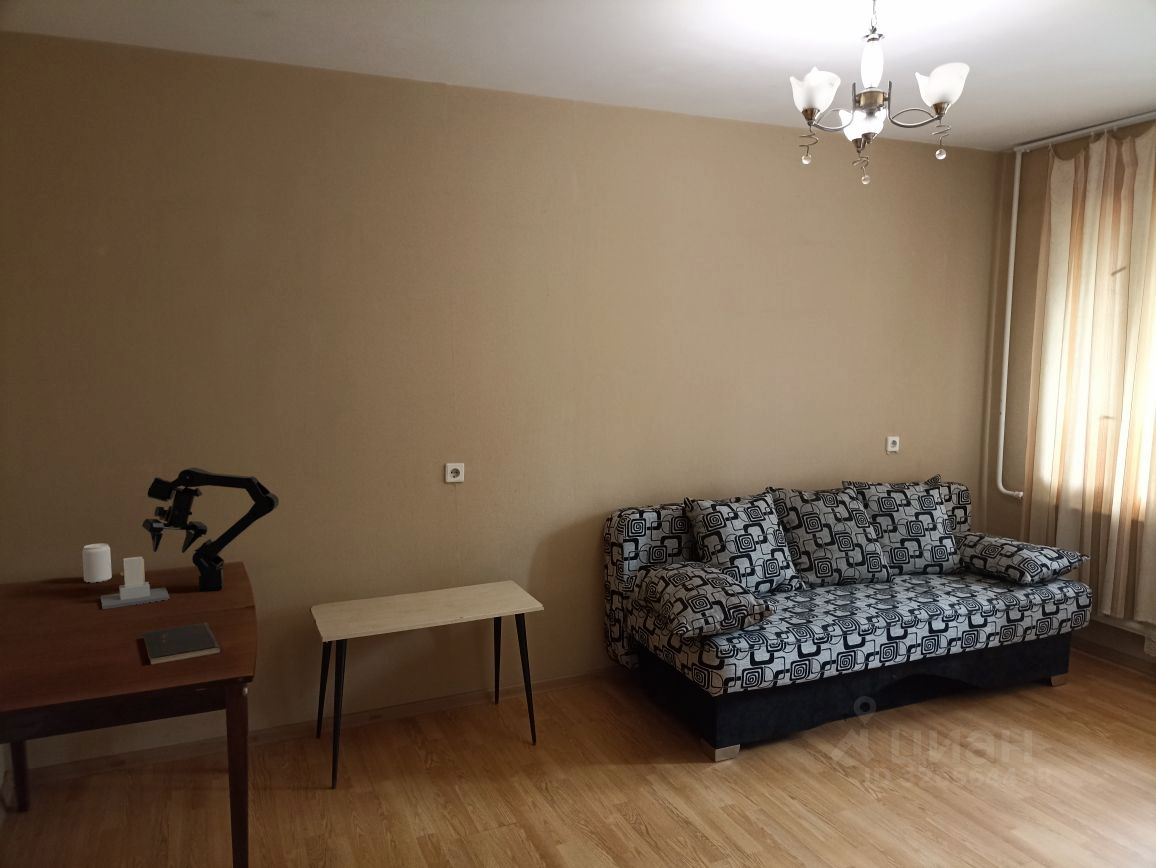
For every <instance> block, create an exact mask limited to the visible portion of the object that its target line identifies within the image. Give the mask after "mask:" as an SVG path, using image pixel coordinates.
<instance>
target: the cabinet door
mask: <svg viewBox="0 0 1156 868" xmlns="http://www.w3.org/2000/svg"><path fill="white" fill-rule="evenodd" d="M122 560H123V571H121V572H120V574H119V576H122V577H123V576H124V578H123V579H124V585H125V588H126V587H134V586H142V585H145V582H146V579H145V559H144V558H143V557H142V556H134V557H133V556H132V557H126V558H123V559H122Z"/></svg>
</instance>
